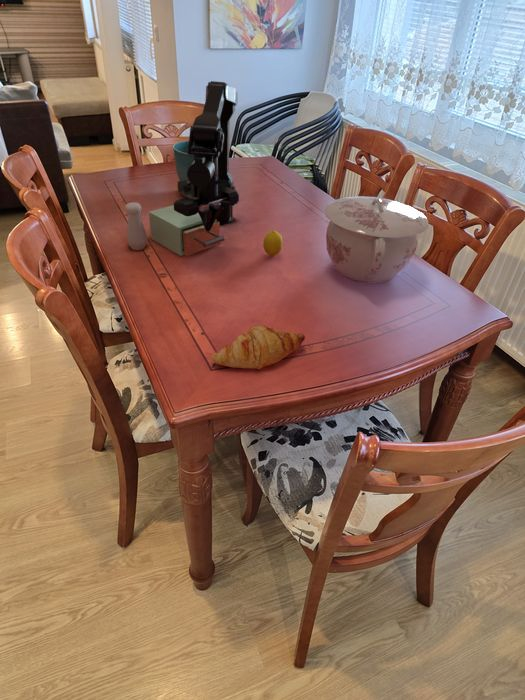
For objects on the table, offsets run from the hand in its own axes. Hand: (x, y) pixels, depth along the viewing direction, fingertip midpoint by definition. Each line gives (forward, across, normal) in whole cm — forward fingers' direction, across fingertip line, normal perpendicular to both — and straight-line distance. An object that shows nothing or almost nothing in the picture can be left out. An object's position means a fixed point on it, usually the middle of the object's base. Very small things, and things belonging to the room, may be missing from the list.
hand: (207, 230), depth 131 cm
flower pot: (+8, -29, -40) cm, 50 cm away
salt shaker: (+8, +13, -16) cm, 22 cm away
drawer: (+6, 0, -6) cm, 9 cm away
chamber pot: (+8, -28, +36) cm, 46 cm away
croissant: (+8, +22, +43) cm, 49 cm away
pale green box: (+7, 0, -12) cm, 14 cm away
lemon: (+8, -14, +12) cm, 20 cm away
